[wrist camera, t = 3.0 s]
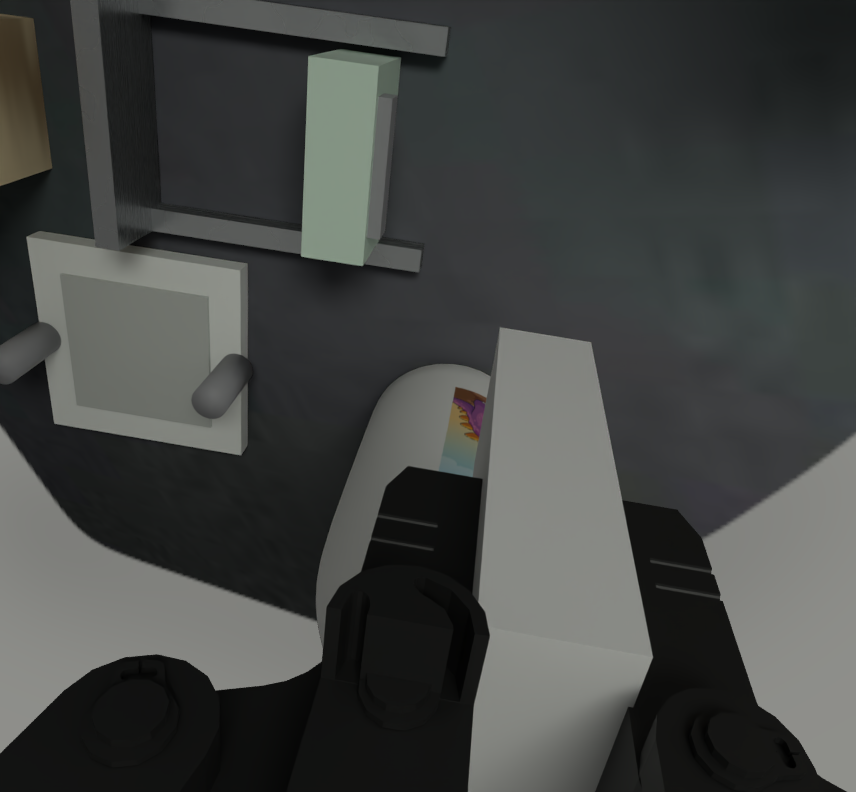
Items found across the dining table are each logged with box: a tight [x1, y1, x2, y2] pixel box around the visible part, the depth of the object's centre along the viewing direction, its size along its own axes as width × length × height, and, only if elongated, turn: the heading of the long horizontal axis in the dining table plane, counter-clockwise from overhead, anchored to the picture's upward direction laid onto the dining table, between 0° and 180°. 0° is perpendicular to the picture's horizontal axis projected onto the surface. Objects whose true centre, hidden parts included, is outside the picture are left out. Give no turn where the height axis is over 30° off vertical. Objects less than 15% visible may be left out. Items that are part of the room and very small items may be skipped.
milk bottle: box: [316, 364, 491, 646], centre depth 28 cm, size 8×8×20 cm
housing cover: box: [301, 49, 401, 266], centre depth 28 cm, size 7×3×5 cm, turn 173°
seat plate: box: [0, 231, 253, 455], centre depth 34 cm, size 10×11×4 cm
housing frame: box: [70, 0, 451, 272], centre depth 29 cm, size 10×13×4 cm
